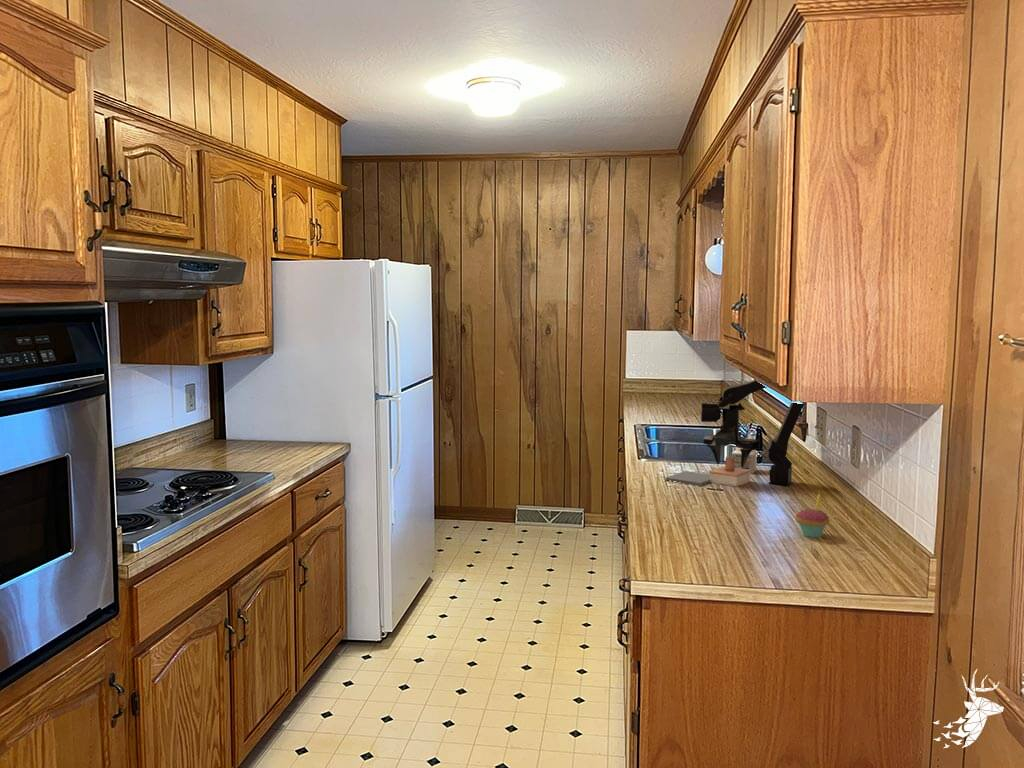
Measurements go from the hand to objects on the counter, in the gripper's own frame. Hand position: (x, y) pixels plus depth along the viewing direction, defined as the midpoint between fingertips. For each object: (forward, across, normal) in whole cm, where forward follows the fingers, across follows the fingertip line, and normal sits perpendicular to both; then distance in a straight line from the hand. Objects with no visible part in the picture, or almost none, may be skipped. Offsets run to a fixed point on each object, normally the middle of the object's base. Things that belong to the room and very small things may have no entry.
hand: (730, 465), depth 271 cm
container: (+6, -4, +20) cm, 21 cm away
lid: (+3, 0, 0) cm, 3 cm away
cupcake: (+6, +46, -44) cm, 64 cm away
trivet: (+6, -12, -5) cm, 14 cm away
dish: (+6, 0, 0) cm, 6 cm away
